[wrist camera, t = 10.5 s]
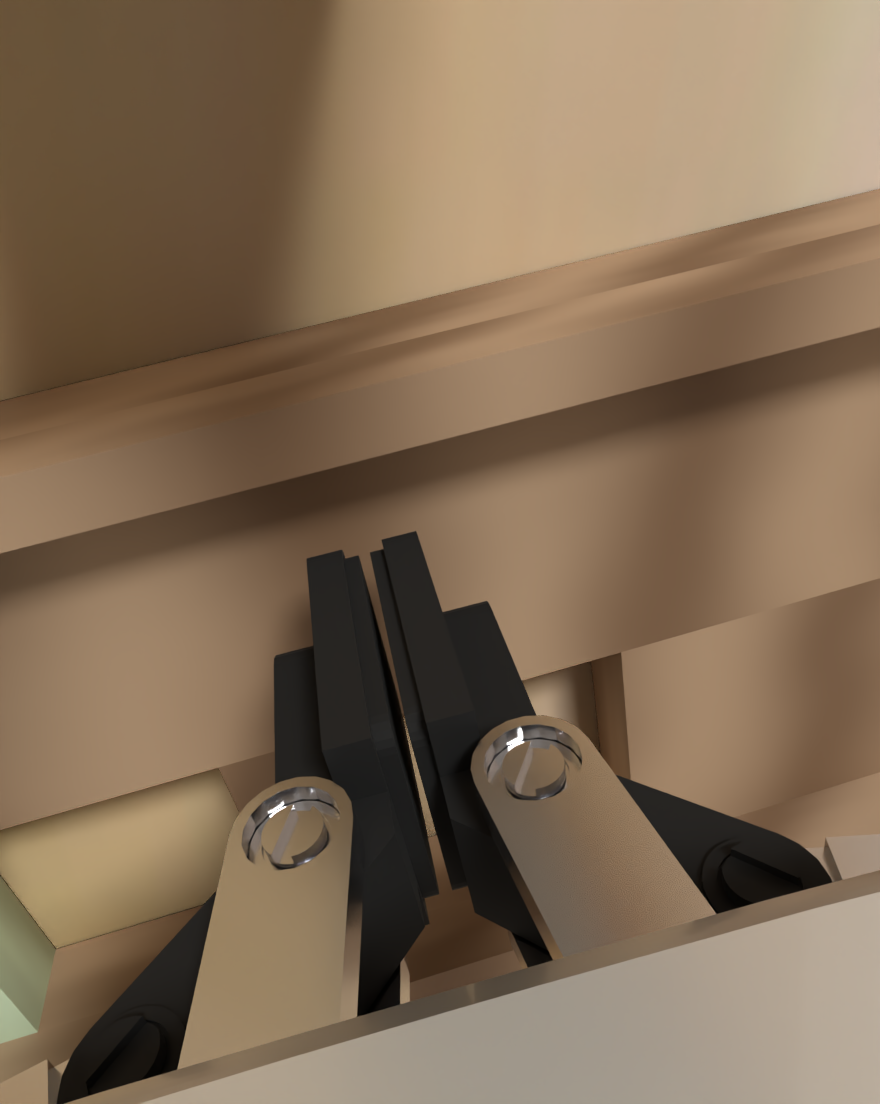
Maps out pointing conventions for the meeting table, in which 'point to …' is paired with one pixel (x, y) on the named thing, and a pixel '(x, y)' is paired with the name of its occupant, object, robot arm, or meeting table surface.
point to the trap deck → (464, 550)
